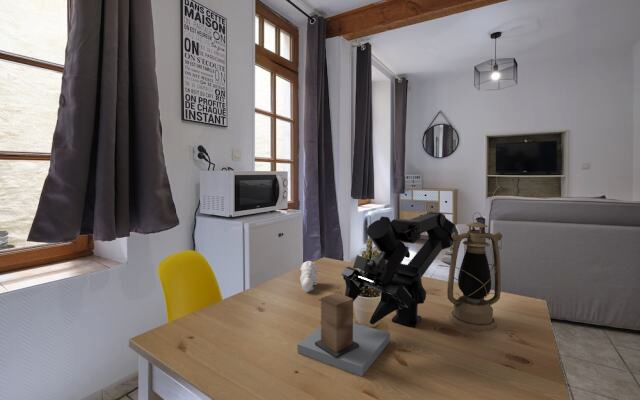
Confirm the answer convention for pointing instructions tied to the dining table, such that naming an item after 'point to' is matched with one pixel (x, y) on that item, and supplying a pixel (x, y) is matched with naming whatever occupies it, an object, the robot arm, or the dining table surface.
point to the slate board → (354, 360)
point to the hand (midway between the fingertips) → (356, 316)
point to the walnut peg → (336, 325)
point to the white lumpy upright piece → (308, 275)
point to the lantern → (475, 280)
